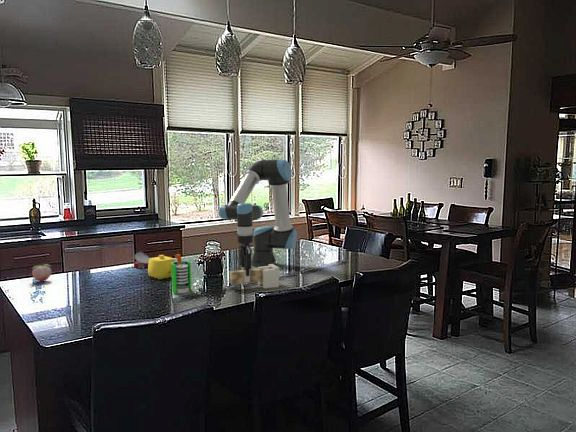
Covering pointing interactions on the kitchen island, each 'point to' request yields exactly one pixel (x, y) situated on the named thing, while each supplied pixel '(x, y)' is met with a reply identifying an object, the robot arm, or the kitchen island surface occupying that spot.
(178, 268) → the green-shelled ribbed roller
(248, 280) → the robot arm
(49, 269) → the decorative fruit
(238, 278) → the rail
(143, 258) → the canned food
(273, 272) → the white stepped block
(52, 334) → the kitchen island surface
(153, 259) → the teapot
